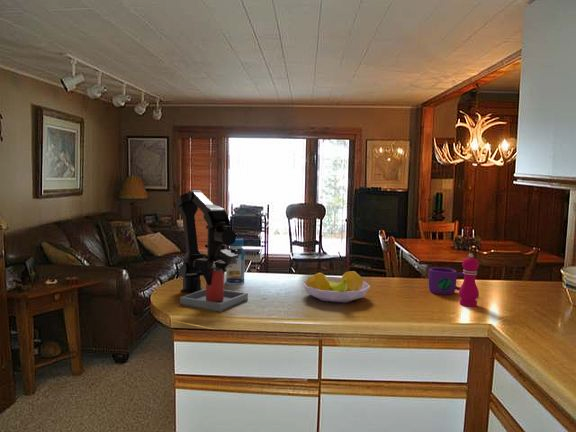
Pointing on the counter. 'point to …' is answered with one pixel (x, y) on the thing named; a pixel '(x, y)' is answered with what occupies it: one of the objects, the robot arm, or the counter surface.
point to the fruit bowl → (336, 287)
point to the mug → (443, 280)
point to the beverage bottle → (236, 264)
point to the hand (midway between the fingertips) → (214, 283)
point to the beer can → (215, 286)
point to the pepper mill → (469, 282)
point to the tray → (200, 301)
